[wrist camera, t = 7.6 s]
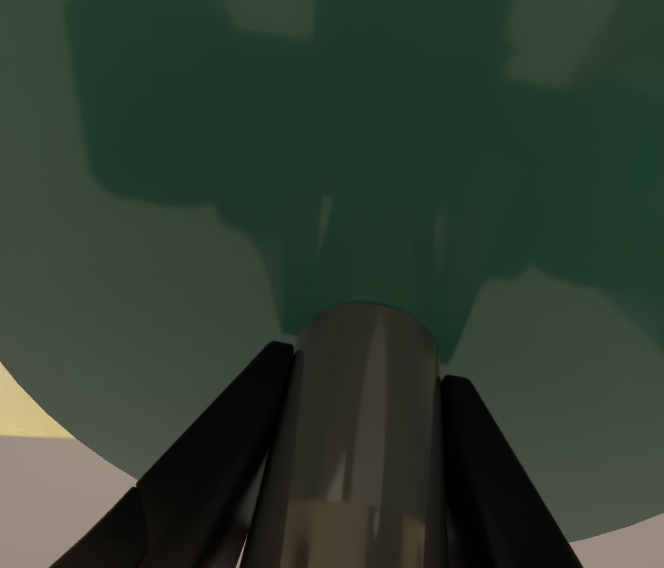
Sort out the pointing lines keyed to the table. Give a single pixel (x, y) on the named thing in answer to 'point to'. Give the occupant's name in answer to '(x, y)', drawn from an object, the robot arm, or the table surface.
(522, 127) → the pot lid
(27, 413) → the table surface
